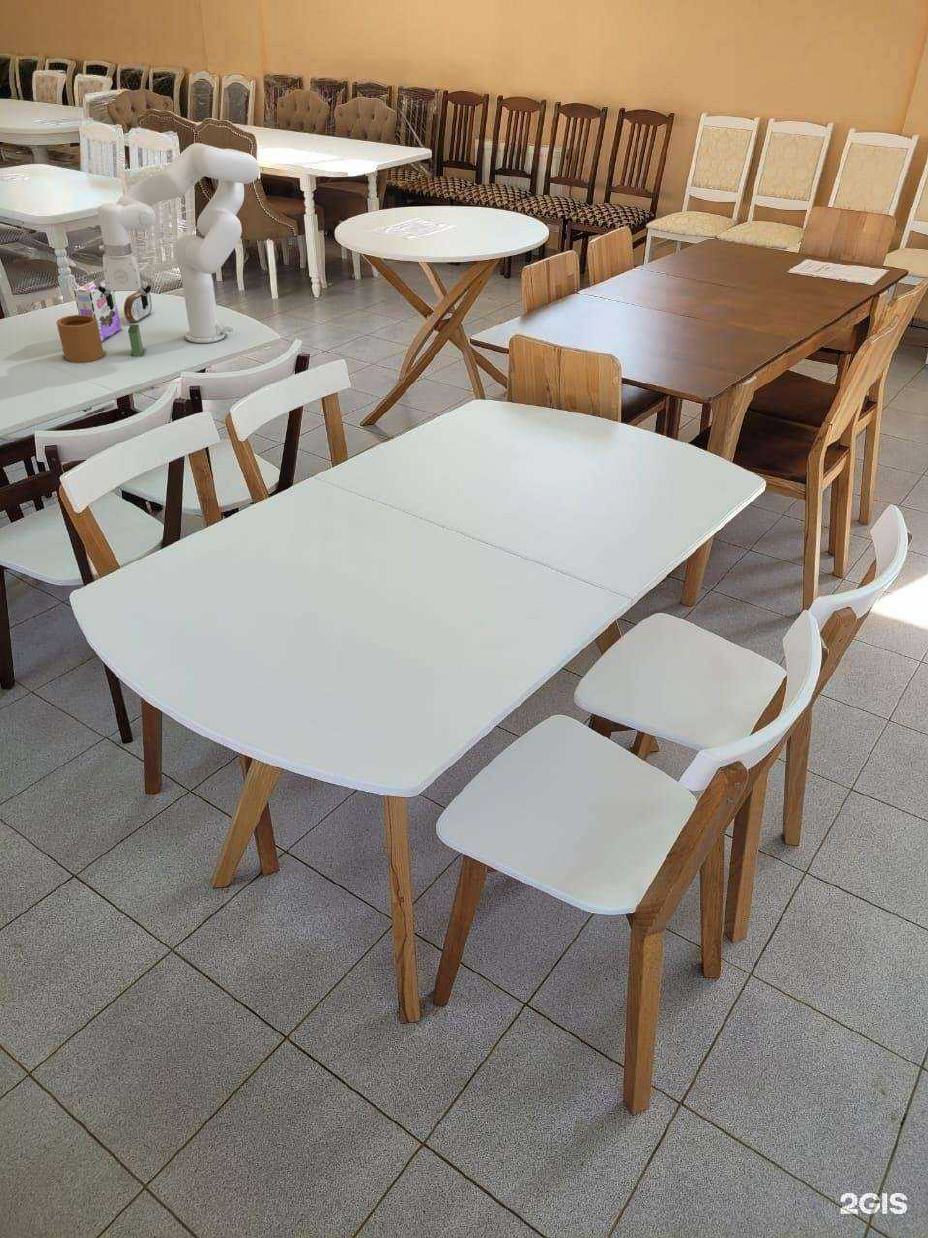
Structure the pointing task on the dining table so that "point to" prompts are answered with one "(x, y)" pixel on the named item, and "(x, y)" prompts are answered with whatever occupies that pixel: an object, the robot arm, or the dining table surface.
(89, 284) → the candy box
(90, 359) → the jar
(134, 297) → the tin
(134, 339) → the block
